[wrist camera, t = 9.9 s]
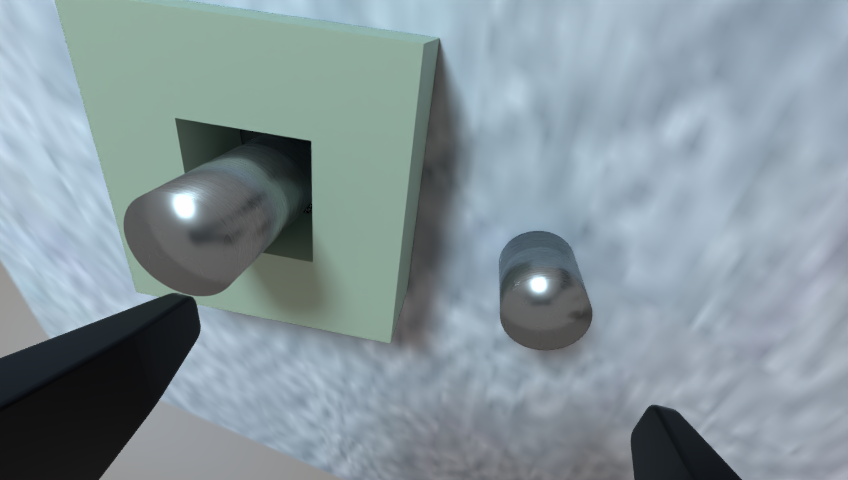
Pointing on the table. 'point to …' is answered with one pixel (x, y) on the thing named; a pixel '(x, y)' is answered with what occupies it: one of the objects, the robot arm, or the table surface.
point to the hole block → (274, 114)
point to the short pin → (542, 292)
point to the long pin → (220, 214)
